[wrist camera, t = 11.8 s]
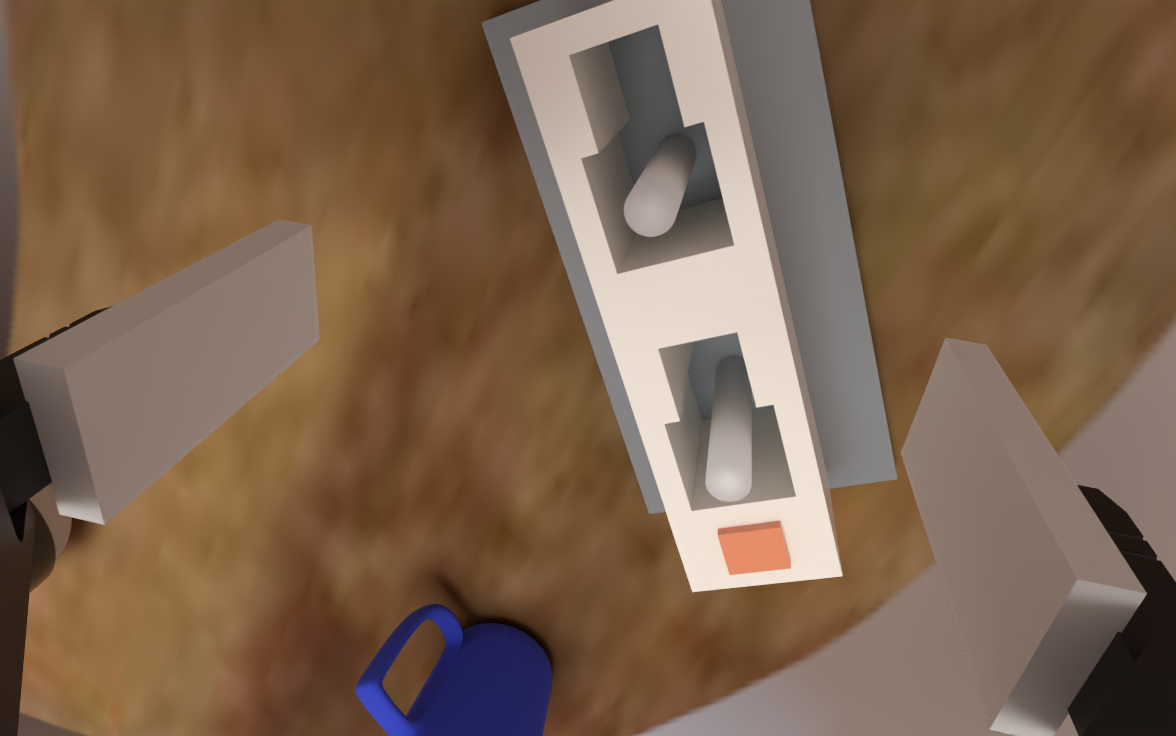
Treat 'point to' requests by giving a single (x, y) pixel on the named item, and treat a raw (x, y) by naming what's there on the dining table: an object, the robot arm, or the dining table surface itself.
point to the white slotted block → (688, 289)
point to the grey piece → (688, 177)
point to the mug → (465, 682)
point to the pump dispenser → (47, 535)
